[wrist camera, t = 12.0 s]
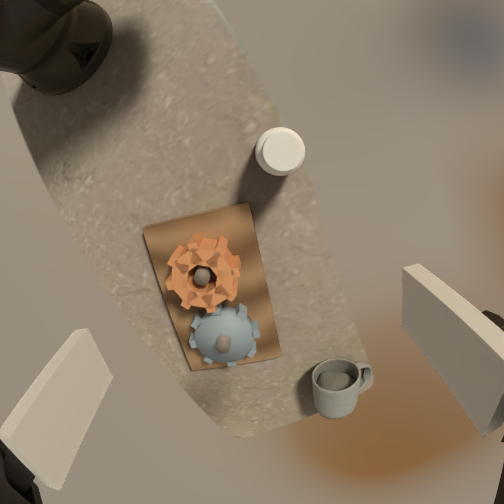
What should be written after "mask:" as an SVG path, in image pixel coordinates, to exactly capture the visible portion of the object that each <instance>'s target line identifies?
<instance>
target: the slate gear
mask: <svg viewBox="0 0 504 504" xmlns="http://www.w3.org/2000/svg"><path fill="white" fill-rule="evenodd" d="M191 326H192V327H193V328H195V329H196V330H195V331H193V332H191V336H190V339H189V343H190V346H191V348H198V349H199V351H200V352H201V353H202V354H203V355H204V359H203V361H205V362H207V363H209V364H211V363H212V362H213V361H217V362H222V363H227V364H228V367H233V366H237V361H238V360H240V359H242V358H244V357H245V356H246V355H247V356H249V357H251V358H252V357H253V356H254V355H255V353H256V352H257V351H256V342H255V341H254V338H258V337H260V327H259V323H258V320H256V321H251V319H250V317H249V316H248V315H247V307H246V306H245V305H243V304H241V303H239V304H238V306H237V307H234V306H230V305H222V302H221V303H219V304H218V305H217V310H216V312H211V313H207V310H206V311H205V312H204V313H201V312H199V311H198V310H197V312H196V313H195V315H194V316H193V319H192V323H191ZM221 334H226V335H228V336H229V337H230V338H231V343H230V351H229V352H228V353H226V354H221V353H219V352H218V351H217V350H216V345H217V338H218V336H219V335H221Z"/></svg>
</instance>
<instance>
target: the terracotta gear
mask: <svg viewBox="0 0 504 504" xmlns="http://www.w3.org/2000/svg"><path fill="white" fill-rule="evenodd" d="M227 243H228V240H227V239H225V238H224V237H222V236H220V237H219V239H218V240H213V239H207V238H203V234H202V233H197V234H193V236H192V238H191V239H190V241H189V242H188V244H187V246H186V247H182V246H181V245H179V246H178V247H177V249H176V250H175V251H174V253H173V254H172V256H171V257H170V259H169V261H168V263H167V264H168V265H170V266H171V267H172V272H171V274H170V275H169V277H168V279H167V280H166V282H165V283H166V286H167V289H168V290H175V292H176V293H177V294H178V295H179V296H180V298H181V299H182V303H181V306H183V307H184V308H186V309H189V308H190V306H191V305H192V306H197V307H203V308H206V310H207V313H211V312H216V310H217V305H218V304H219V303H221V302H222V301H224V300H226V299H228V300H230V301H231V302H232V301H233V300H234V298H235V297H236V295H237V285H238V279H236V278H235V277H240V272H241V261H240V257H239V255H236V256H233V255H232V254H231V252H230V251H229V250H228V248H227ZM197 265H201V266H207V267H210V268H211V269H212V270H213V272H214V273H215V274H216V275H215V276H214V277H212V278H211V279H209V282H208V283H207V284H206V285H203V286H201V285H198V284H197V283H196V282H195V281H194V275H195V270H194V269H193V268H194V267H195V266H197Z"/></svg>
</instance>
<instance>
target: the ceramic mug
mask: <svg viewBox="0 0 504 504" xmlns="http://www.w3.org/2000/svg"><path fill="white" fill-rule="evenodd" d="M362 368H365V369H364V374H363V377H362V378H361V371H360V369H362ZM371 373H372V368H371V366H370V365H368V364H367V363H365V362H362V361H361V362H357V363H354V362H352V361H350V360H348V359H343V358H334V359H329V360H325V361H323V362H321V363H320V364H319V365H317V366H316V367H315V369H314V370H313V372H312V387H313V398H314V405H315V408H316V410H317V412H318V413H319V414H320V415H321V416H323V417H325V418H328V419H340V418H343V417H346V416H347V415H349V414H350V413H351V412H352V411H353V409H354V408H355V406H356V403H357V399H358V391H359V390H361V389H362V388H363V387H364V386H365V385H366V384H367V382H368V381H369V379H370V376H371ZM360 379H361V380H360Z"/></svg>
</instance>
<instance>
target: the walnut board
mask: <svg viewBox="0 0 504 504" xmlns="http://www.w3.org/2000/svg"><path fill="white" fill-rule="evenodd" d="M142 230H143V233H144V237H145V240H146V243H147V247H148V250H149V253H150V256H151V260H152V263H153V266H154V269H155V272H156V275H157V278H158V281H159V284H160V287H161V290H162V293H163V296H164V299H165V301H166V304H167V307H168V310H169V313H170V315H171V318H172V321H173V323H174V326H175V329H176V331H177V334H178V337H179V339H180V342H181V344H182V347H183V349H184V352H185V354H186V357H187V359H188V362H189V364H190V367H191V369H192V371H194V370H202V369H210V368H217V367H224V366H228V364H227V363H222V362H217V361H213V362H212V363H211V364H209V363H207V362H205V361H203V359H204V355H203V354H202V353H201V352H200V351H199V349H198V348H191V346H190V343H189V339H190V336H191V332H193V331H195V330H196V329H195V328H193V327H192V326H191V323H192V319H193V316H194V315H195V313H196V312H197V310H198V311H199V312H201V313H204V312H205V311H206V308H203V307H197V306H192V305H191V306H190V308H189V309H186V308H184V307H183V306H181V303H182V299H181V298H180V296H179V295H178V294H177V293H176V292H175V290H168V289H167V286H166V283H165V282H166V280H167V279H168V277H169V275H170V274H171V272H172V267H171V266H170V265H168V264H167V263H168V261H169V259H170V257H171V256H172V254H173V253H174V251H175V250H176V249H177V247H178V246H179V245H181V246H182V247H186V246H187V244H188V242H189V241H190V239H191V238H192V236H193V234H197V233H202V234H203V238H207V239H213V240H218V239H219V237H220V236H222V237H224V238H225V239H227V240H228V243H227V248H228V250H229V251H230V252H231V254H232V255H233V256H236V255H239V257H240V261H241V272H240V277H235V278H236V279H238V285H237V295H236V297H235V298H234V300H233V301H232V302H231V301H230V300H228V299H226V300H224V301H222V305H230V306H234V307H237V306H238V304H239V303H241V304H243V305H245V306H246V307H247V315H248V316H249V317H250V319H251V321H256V320H258V323H259V327H260V337H258V338H254V341H255V342H256V351H257V352H256V353H255V355H254V356H253V357H252V358H251V357H249V356H247V355H246V356H245V357H244V358H242V359H240V360H238V361H237V364H243V363H249V362H255V361H261V360H266V359H272V358H277V357H282V355H281V349H280V344H279V340H278V335H277V330H276V325H275V321H274V316H273V311H272V307H271V302H270V297H269V292H268V288H267V283H266V278H265V274H264V269H263V264H262V260H261V255H260V250H259V246H258V241H257V237H256V232H255V227H254V223H253V218H252V214H251V209H250V204H249V202H246V203H241V204H236V205H232V206H227V207H223V208H218V209H214V210H209V211H205V212H201V213H196V214H192V215H188V216H184V217H180V218H176V219H171V220H167V221H163V222H159V223H155V224H151V225H147V226H145V227H144V228H142ZM193 269H194V270H195V275H194V281H195V282H196V283H197V284H198V285H201V286H203V285H206V284H207V283H208V282H209V279H211V278H212V277H214V276H215V275H216V274H215V273H214V272H213V270H212V269H211V268H210V267H207V266H201V265H197V266H195V267H194V268H193ZM230 343H231V338H230V337H229V336H228V335H226V334H221V335H219V336H218V338H217V345H216V350H217V351H218V352H219V353H221V354H226V353H228V352H229V351H230Z"/></svg>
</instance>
